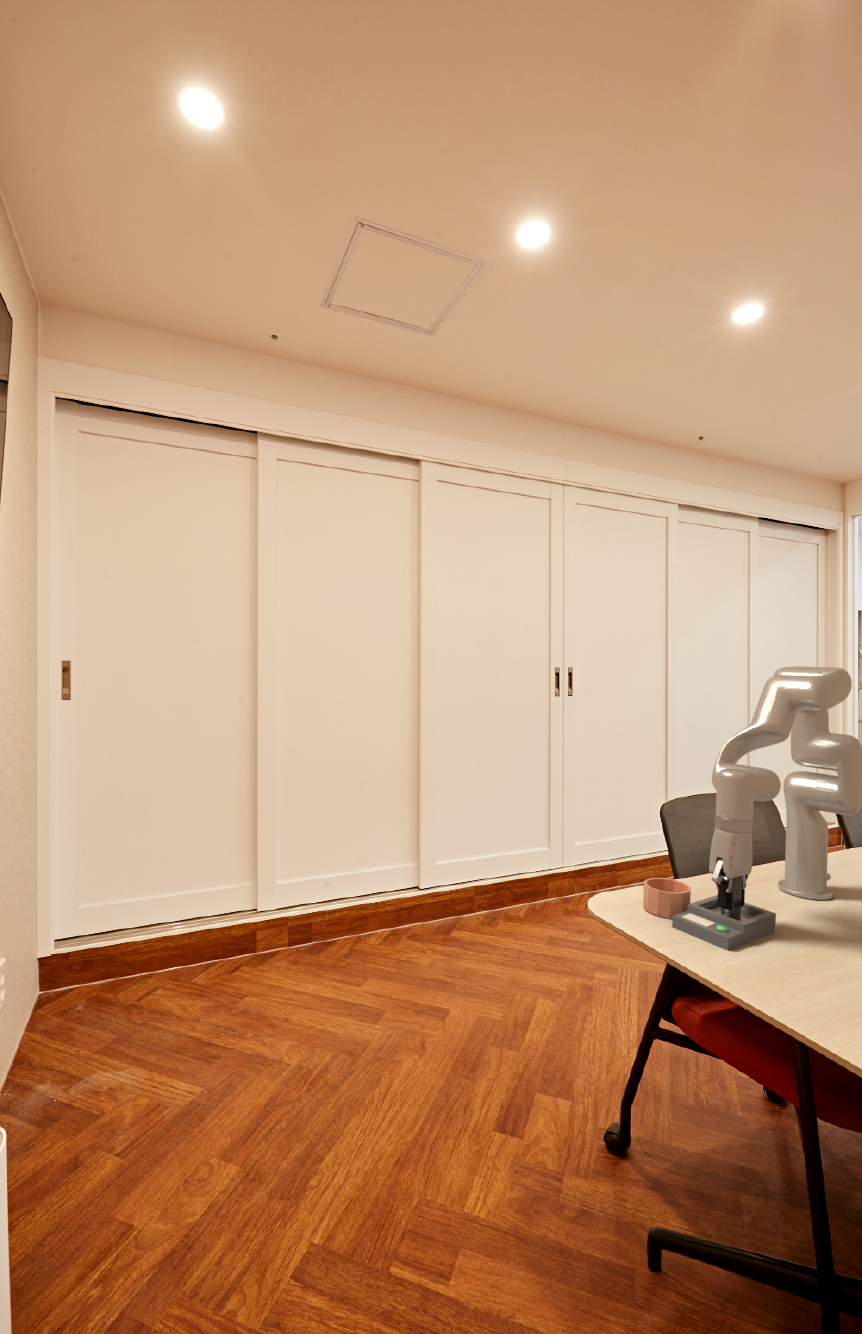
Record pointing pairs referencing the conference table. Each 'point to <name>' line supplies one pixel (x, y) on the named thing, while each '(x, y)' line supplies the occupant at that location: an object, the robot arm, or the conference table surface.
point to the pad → (743, 915)
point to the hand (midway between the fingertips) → (730, 905)
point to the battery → (734, 899)
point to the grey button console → (724, 924)
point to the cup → (665, 897)
